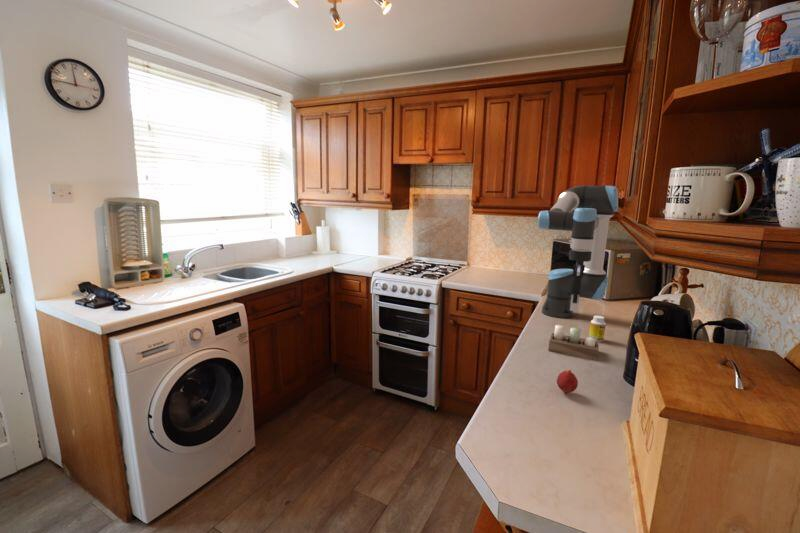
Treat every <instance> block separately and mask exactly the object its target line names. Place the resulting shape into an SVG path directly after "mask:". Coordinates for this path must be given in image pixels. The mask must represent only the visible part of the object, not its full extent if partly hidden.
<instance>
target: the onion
mask: <svg viewBox="0 0 800 533" xmlns="http://www.w3.org/2000/svg"><path fill="white" fill-rule="evenodd" d="M556 384H557V387H558V388H559V389H560V390H561V391H562V393H564V394H565V395H567V394H570V393H573V392H574V391H575V390H577V388H578V386H579V385H578V384H579V381H578V379H577V376H576V375H575V374H574V373H573V372H572V370H571V369H569V368H568V369H567V370H564V371H562V372H560V373H559V374H558V376H557V378H556Z"/></svg>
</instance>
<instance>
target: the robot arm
mask: <svg viewBox="0 0 800 533" xmlns="http://www.w3.org/2000/svg"><path fill="white" fill-rule="evenodd" d="M618 211H619V190H618V188H617V187H616V186H615V185H607V184H606V185H578V186H574V187H570V188H568V189H566V190H565V191H563V192H562V193H560V195H559V196H558V198H557V202H556V203H555V204H554V205H553V206H552V207H551V208H550V210H541V211H539V213H538V214H537V215H538V216H537V227H538V229H541V230H542V229H543V230H551V231H552V230H553V231H569V232H571V236H570V240H568V243H570V247H569V248H570V250H569V253H568V254H569V255H568V259H569V261H573V262H575V263H573V265H572V268H556V269H551V270H550V272H549V274H548V278H547V292H546V298H545V300H544V302H543V304H542V307H541V313H542V314H544V315H546V316H550V317H553V318H558V319H559V318H561V319H568V318H573V317H574V312H578V310H579V301H580V298H584V299H588V300H589V299H590V300H598V301H600V300H603V298H604V296H605V293H606V289H607V287H608V284H609V280H610V278H609V277H608V276H607V273H606V271H605V270H604V264H605V255H606V249H607V248H606V247H607V239H608V232H609V227H610V226H609V225H610V219H611V218H612V217H614V216H615V213H617V212H618Z"/></svg>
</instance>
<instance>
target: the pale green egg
mask: <svg viewBox="0 0 800 533" xmlns="http://www.w3.org/2000/svg"><path fill="white" fill-rule="evenodd" d="M568 336H569V342H571V343H576V344H578V343H579V339H580V338H581V337H580V336H581V328H579V327H574V326H573V327H570V330H569V335H568Z"/></svg>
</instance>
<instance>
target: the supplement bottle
mask: <svg viewBox="0 0 800 533" xmlns="http://www.w3.org/2000/svg"><path fill="white" fill-rule="evenodd" d="M606 324H607V322H605V317H604V316H602V315H593V318H592V320H590V324H589V325H590V327H589V332H588V333H589V334H588V337H590V338H594V339H595V340H596V341H599V343H602V342H603V341H604V339H605V331H606V330H605V329H606Z"/></svg>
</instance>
